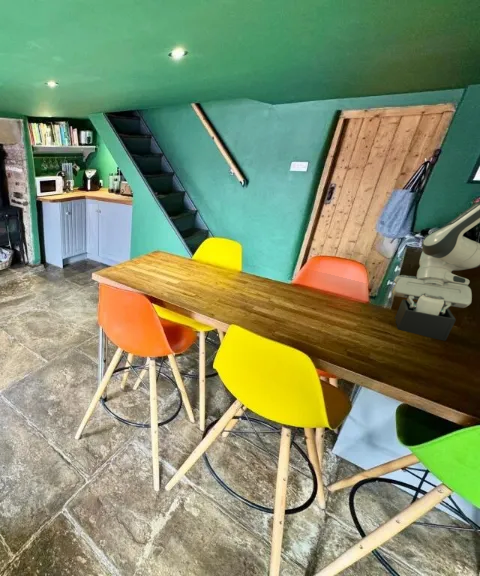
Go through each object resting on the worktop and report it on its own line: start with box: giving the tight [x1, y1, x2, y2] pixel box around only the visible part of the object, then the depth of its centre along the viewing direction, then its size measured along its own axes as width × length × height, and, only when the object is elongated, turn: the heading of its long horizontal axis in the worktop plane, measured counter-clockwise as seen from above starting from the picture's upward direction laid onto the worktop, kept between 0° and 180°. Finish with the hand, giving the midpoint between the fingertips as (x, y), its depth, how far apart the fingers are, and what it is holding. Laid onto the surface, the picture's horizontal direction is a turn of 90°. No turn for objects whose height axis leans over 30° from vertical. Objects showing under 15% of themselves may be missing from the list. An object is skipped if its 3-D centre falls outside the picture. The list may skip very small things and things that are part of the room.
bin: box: [394, 299, 457, 342], centre depth 114 cm, size 13×13×9 cm
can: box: [413, 293, 445, 315], centre depth 113 cm, size 6×6×12 cm
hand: (426, 310), depth 112 cm, fingers closed on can, 6 cm apart
